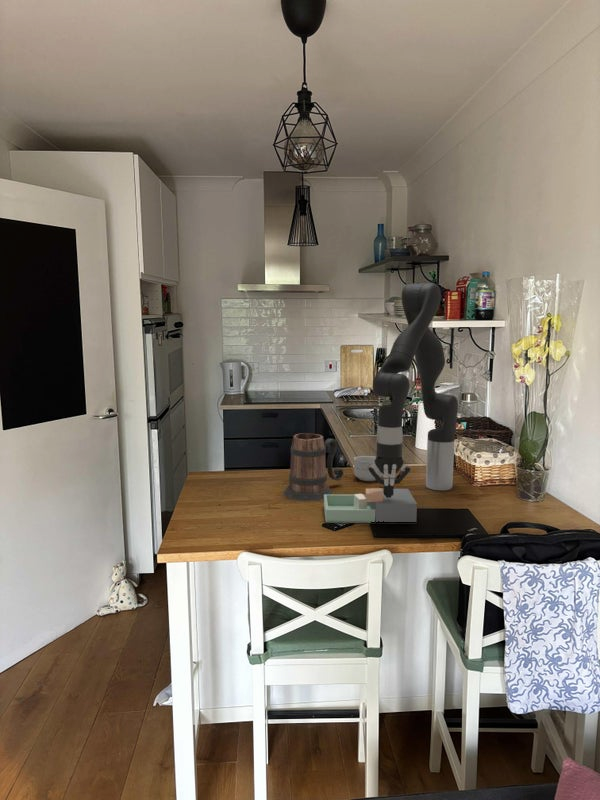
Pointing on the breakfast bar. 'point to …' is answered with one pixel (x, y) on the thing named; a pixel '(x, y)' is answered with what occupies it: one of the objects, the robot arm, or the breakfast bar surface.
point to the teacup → (365, 468)
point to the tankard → (311, 467)
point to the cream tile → (360, 501)
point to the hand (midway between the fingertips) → (388, 496)
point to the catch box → (346, 510)
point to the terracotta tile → (374, 495)
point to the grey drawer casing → (396, 507)
